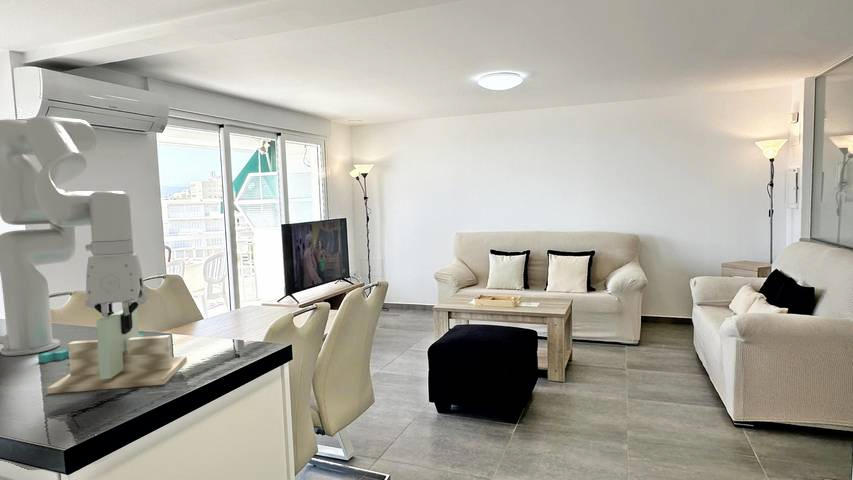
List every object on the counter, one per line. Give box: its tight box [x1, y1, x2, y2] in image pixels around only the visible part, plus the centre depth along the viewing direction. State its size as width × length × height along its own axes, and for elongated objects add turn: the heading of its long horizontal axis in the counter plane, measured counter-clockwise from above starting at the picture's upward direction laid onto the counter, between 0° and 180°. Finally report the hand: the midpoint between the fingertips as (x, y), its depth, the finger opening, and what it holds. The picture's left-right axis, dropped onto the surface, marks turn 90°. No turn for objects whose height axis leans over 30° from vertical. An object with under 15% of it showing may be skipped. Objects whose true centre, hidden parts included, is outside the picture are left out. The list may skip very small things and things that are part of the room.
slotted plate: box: [95, 306, 140, 379], centre depth 114 cm, size 16×2×12 cm, turn 9°
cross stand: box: [46, 334, 188, 395], centre depth 114 cm, size 22×16×8 cm
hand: (119, 332), depth 114 cm, fingers closed
